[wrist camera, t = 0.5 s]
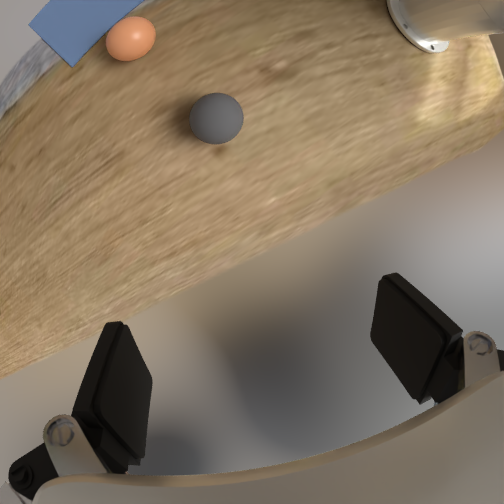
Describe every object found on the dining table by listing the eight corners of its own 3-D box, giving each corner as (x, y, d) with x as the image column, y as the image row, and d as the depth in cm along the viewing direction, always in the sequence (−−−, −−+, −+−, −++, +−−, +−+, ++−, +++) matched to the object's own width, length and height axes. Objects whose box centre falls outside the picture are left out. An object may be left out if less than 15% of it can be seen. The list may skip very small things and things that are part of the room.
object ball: (141, 19, 21) (129, 1, 16) (169, 42, 23) (161, 25, 18) (106, 50, 22) (89, 37, 17) (133, 74, 24) (118, 63, 19)
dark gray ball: (217, 87, 27) (219, 77, 22) (250, 121, 29) (258, 118, 24) (181, 120, 27) (174, 116, 22) (214, 153, 30) (214, 156, 25)
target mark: (102, -44, 14) (101, -44, 14) (157, -10, 20) (157, -11, 19) (28, 25, 17) (28, 24, 16) (72, 67, 22) (72, 67, 22)
